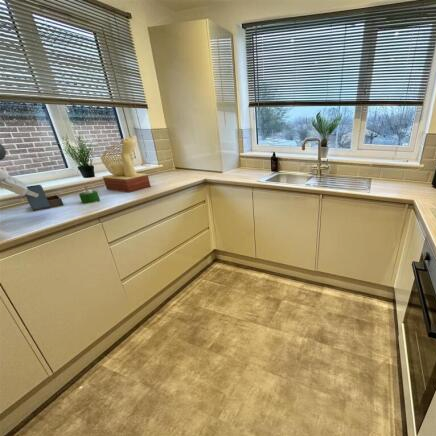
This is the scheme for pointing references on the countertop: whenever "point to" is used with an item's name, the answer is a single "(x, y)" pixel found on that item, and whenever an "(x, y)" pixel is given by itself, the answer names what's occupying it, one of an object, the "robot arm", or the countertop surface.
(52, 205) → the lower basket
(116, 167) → the cream sculpture
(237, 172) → the countertop surface
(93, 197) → the candle
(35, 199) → the grey rectangular block
